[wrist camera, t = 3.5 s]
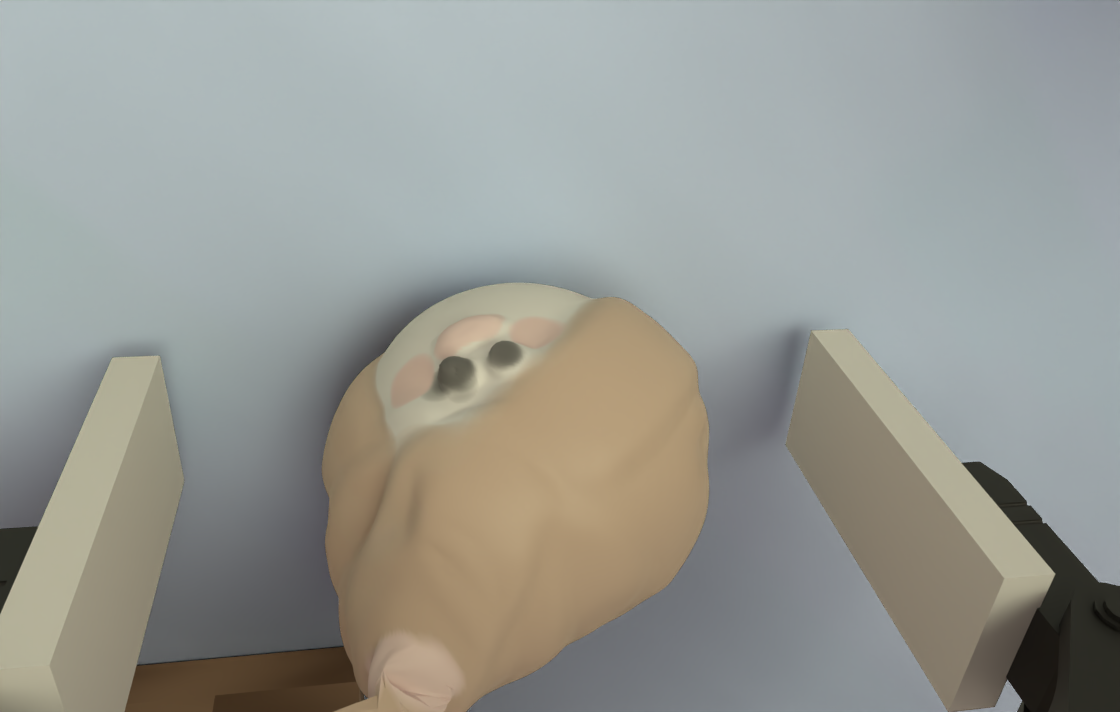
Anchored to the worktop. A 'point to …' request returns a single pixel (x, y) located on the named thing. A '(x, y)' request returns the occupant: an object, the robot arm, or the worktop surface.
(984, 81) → the worktop surface
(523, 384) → the garlic bulb
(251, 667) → the walnut well
